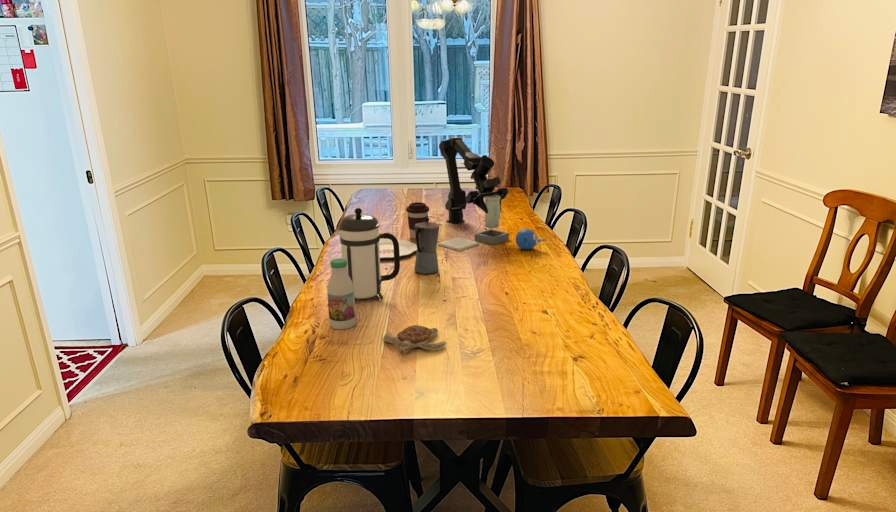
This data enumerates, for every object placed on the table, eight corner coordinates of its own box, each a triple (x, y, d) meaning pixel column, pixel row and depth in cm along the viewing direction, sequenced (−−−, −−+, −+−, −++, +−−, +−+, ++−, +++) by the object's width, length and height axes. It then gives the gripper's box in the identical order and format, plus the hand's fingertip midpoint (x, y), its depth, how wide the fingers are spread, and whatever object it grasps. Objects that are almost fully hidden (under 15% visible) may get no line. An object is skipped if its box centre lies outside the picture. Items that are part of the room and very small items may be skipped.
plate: (427, 247, 242) (427, 243, 242) (398, 265, 221) (398, 260, 220) (376, 240, 253) (376, 236, 252) (343, 257, 231) (343, 252, 230)
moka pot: (445, 266, 219) (445, 214, 213) (431, 279, 205) (430, 225, 199) (422, 263, 222) (421, 212, 216) (406, 276, 208) (404, 223, 202)
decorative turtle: (370, 352, 155) (369, 335, 154) (397, 326, 170) (397, 311, 168) (433, 363, 149) (433, 346, 147) (455, 336, 164) (455, 320, 162)
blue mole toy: (544, 254, 231) (544, 234, 229) (514, 252, 233) (514, 232, 231) (545, 245, 242) (546, 226, 240) (516, 244, 245) (517, 224, 242)
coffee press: (369, 310, 181) (363, 216, 171) (330, 299, 189) (323, 210, 179) (402, 292, 195) (398, 204, 185) (365, 283, 203) (360, 199, 193)
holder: (474, 240, 251) (474, 233, 250) (490, 235, 258) (490, 228, 257) (493, 244, 244) (493, 238, 243) (508, 239, 251) (508, 232, 250)
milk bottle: (331, 319, 174) (326, 256, 168) (357, 318, 175) (353, 255, 168) (328, 331, 167) (323, 265, 160) (355, 329, 167) (351, 264, 161)
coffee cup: (430, 234, 260) (430, 201, 255) (428, 240, 251) (427, 206, 246) (409, 233, 261) (408, 201, 256) (405, 240, 252) (404, 206, 247)
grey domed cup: (481, 225, 250) (482, 195, 246) (494, 223, 253) (495, 194, 249) (491, 230, 243) (492, 200, 239) (505, 228, 246) (506, 198, 241)
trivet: (438, 245, 244) (438, 243, 244) (457, 239, 252) (457, 236, 252) (459, 251, 236) (459, 248, 236) (478, 244, 245) (478, 242, 244)
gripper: (468, 172, 241) (481, 204, 235) (507, 168, 249) (520, 199, 243) (460, 187, 250) (472, 218, 244) (497, 183, 258) (509, 213, 252)
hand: (493, 211), depth 246 cm, fingers closed on grey domed cup, 6 cm apart
